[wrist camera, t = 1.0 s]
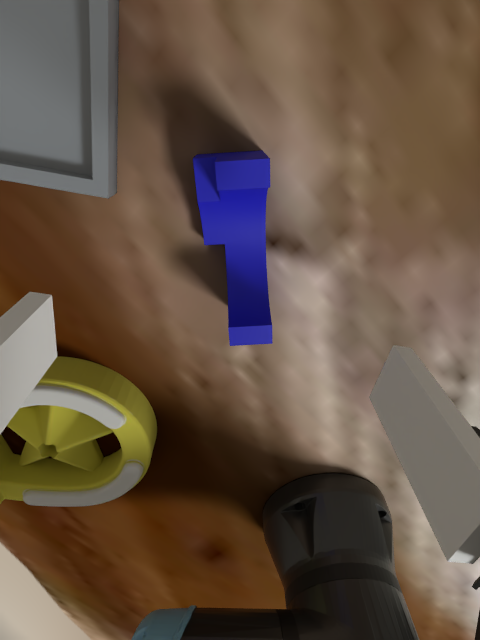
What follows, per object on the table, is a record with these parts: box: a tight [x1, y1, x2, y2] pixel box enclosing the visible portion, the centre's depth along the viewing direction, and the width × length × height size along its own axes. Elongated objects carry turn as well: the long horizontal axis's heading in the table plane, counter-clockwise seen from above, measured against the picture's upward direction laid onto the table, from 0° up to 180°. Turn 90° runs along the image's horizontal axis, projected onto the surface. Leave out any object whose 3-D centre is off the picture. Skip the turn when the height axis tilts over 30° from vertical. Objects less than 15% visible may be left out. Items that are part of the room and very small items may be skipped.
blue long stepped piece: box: [193, 151, 272, 346], centre depth 25 cm, size 12×4×6 cm, turn 3°
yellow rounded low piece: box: [0, 357, 157, 506], centre depth 35 cm, size 16×21×5 cm
